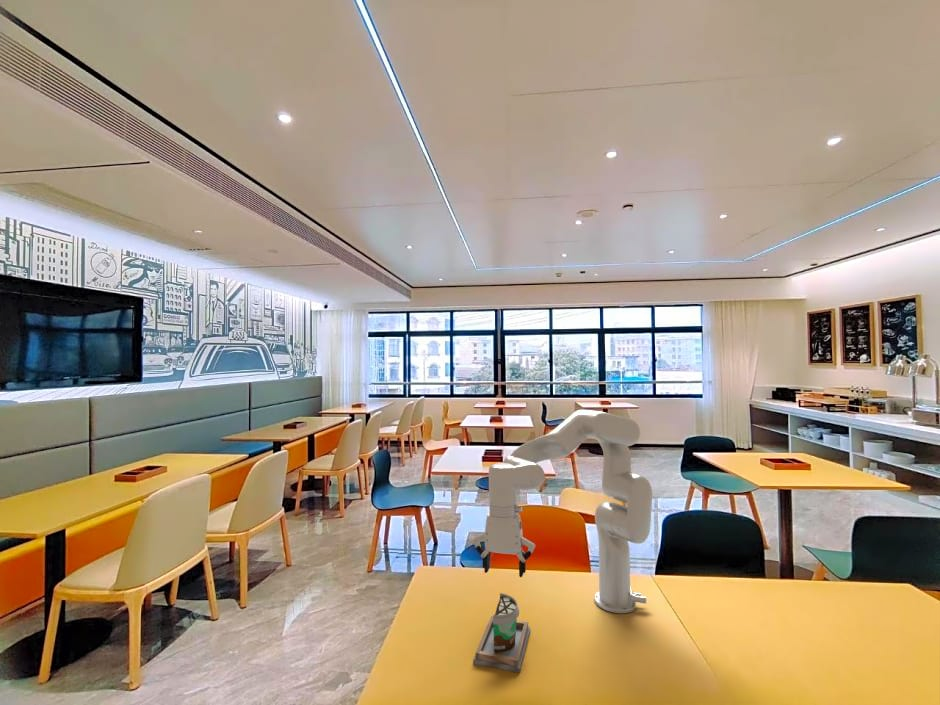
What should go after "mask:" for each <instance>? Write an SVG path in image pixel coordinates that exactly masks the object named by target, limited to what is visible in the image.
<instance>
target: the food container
mask: <svg viewBox="0 0 940 705" xmlns="http://www.w3.org/2000/svg"><path fill="white" fill-rule="evenodd" d="M519 608H520V607H519V604H518V602H517V601H516V599H515V598H514V597H513V596H511V595H509V594H506V593H500V592H499V601H498V603H497V606H496V609H495V612H494V614H493V615H492V616H493V631H494V652H505V651H508V650H510V649H512V648H513V647H514V645H515V636H516V620H517V621H518V618H519V616H520V610H519Z"/></svg>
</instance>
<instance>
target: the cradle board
mask: <svg viewBox="0 0 940 705" xmlns="http://www.w3.org/2000/svg"><path fill="white" fill-rule="evenodd" d="M530 633H531V626H529V622H528V621H525V620H524V621H522V620H518V619H517V620H516V636H515V645H514V647H513V648H512V649H510V650H508V651H505V652H494V631H493V615H491V616H490V618H489V620H488V623H487V625H486V627H485V630H484V632H483V635H482V637H481V640H480V642H479V644H478V647H477V649H476V651H475V653H474V654H475V655H474V656H473V659H472V664H474V665H476V666H477V665H478V666H484V667H489V668H492V669H493V668H494V669H498V670H499V669H500V670H503V671H508V672H512V673H516V674H517V673H518V674H520V673H521V669H522V666H523V665H522V664H523V661H524V657H525V654H526V649H527V646H528V641H529V637H530Z"/></svg>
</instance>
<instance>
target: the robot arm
mask: <svg viewBox="0 0 940 705" xmlns="http://www.w3.org/2000/svg"><path fill="white" fill-rule="evenodd" d="M640 437H641V429H640V426H639V424H638V423H637V421H635V420H633V419H632V418H628V417H625V416H620V415H616V414H612V413H609V412H604V411H599V410H598V411H597V410H591V409H578V410H576V411H574V412H572V413H571V414H570V415H569V416H568V417H566V418H565V419H564V420H562V421H561V422H560V423H559V424H558V425H556V426H555V428H553V429H552V430H551V431H550V432H548V433H547V434H544V435H541V436H539V437H536V438H534V439H532V440H529V441H527V442H525V443H523V444H521V445H519V446H518V447H516V448H515V449H514V450H513V451H512V452H510V454H508V455H507V457H505V458H504V459H503V462H497V463H494V464H491V465H490V466H489V468H488V494H489V495H488V502H489V511H488V512H487V514H486V519H485V527H484V528H485V529H484V533H481V535H478V536H475V537H474V538H473V539H472V543H473V545H474V546H475V550H476V551H477V552H478V553H479V555H480V557H481V558H482V569H484V572H483V573H485V574H487V573H488V572H489V570H490V565H491V564H490V553H498V554H505V555H508V554H509V555H516V556H517V558H518V559H519V561H518V571H519V572H518V574H519V575H518V576H519V577H520V578H523V575H524V574H525V573H526V570H527V568H526V567H527V566H526V565H527V564H526V562H527V560H528V559H529V558H530V557H531V556H532V554H533V552H534V550H535V548H536V544H535V543H534V542H532V541H531V540H529V539H527V538H526V537H524V535H523V526H522V520H521V519H522V518H521V515H520V513H522V512H523V507H522V506H520V505H518V502H517V491H524V490H525V491H532V490H536V489H538V488H540V487H541V486H542V485H543V483H544V482H545V474H546V473H545V470H544V469H543V468H542V466H540V465H539V464H538V463H540V462H543V461H544V462H545V461H547V460H548V461H549V460H558V459H562V458H566V457H568V456H569V455H571V453H573V451H575V450H576V449H577V448H578V447H579V446H580V445H581V444H582V443H584V442H585V441H586V440H587V439H593V440H596V441H597V442H598V444H599V445H600V447H601V450H602V452H603V464H602V465H603V466H602V478H601V480H602V481H601V482H602V483H601V486H602V487H601V488H602V492H603V494H604V495H605V496H607V497H608V498H611V499H613V500H616V501H619V502H622V503H624V504H626V505H622V504H619V503H617V502H612V501H604V502H601V503H599V504H598V506H597V507H596V509H595V512H594V522H595V525H596V530H597V539H598V541H597V542H598V582H599V583H598V588H599V590H598V591H597V592H596V593H595V594H594V597H593V599H594V600H593V601H594V602H595V604H596V605H597V606H598V607H599V608H601V609H602V610H603V611H606V612H609V613H615V614H627V613H632V612H634V610H635V609H636V607H637V605H636V603H640V604H645V605H646V604H647V597H646V596H642V593H641V592H634V591H632V587H631V562H630V561H631V557H630V556H631V552H630V551H631V550H630V544H629V542H630V543H633V544H637V545H638V544H643V543H645V542H646V541H647V539H648V537H649V536H650V531H651V525H652V524H651V523H652V511H653V510H652V506H653V488H652V486H651V482H650V481H649V480H648V479H647V478H646V477H645V476H643V475H640V474H637V473H633V472H631V471H632V459H631V458H632V455H631V451H630V448H629V447H631V446H633V445H635V444H636V443H637V442H638V441H639V439H640ZM482 541H484V547H483V545H482V544H481V542H482ZM523 546H525V547H527V549H528V550H526V551H524V550H523V548H524V547H523Z"/></svg>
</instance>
